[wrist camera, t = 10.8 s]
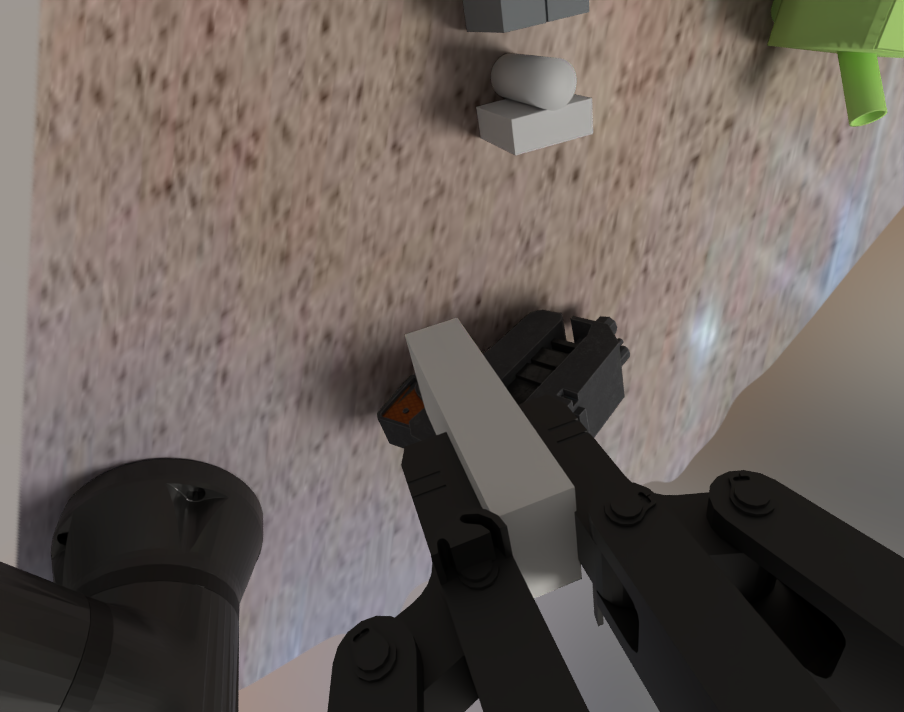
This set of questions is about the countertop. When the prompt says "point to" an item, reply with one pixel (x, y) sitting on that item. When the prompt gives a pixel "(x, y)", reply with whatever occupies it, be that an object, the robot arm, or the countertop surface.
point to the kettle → (846, 43)
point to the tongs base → (536, 97)
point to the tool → (534, 374)
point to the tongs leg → (503, 14)
